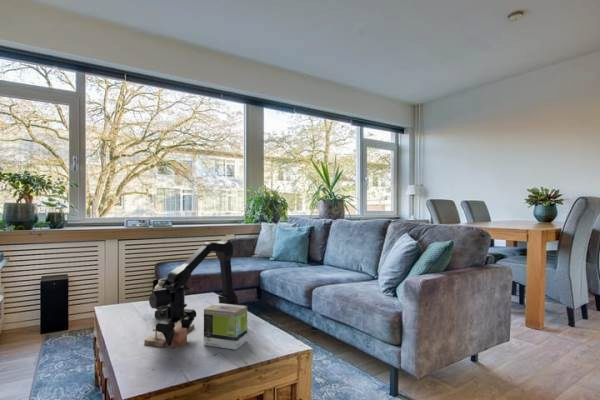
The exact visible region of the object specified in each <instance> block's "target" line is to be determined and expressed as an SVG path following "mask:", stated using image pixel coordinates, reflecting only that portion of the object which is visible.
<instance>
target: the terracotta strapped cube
mask: <svg viewBox="0 0 600 400" xmlns="http://www.w3.org/2000/svg"><path fill="white" fill-rule="evenodd" d="M174 329H175V332H174V336H173V340H172V343H171V346H168V345H167V342H166V346H165V347H171V348H178V349H179V348H181V347H183V346H184V345H186V344H187V343H188V332H187V328H181V327H174ZM152 332H155V334H154V335H155V337H157V333H158V331H156V330H155V326H154V327H152Z"/></svg>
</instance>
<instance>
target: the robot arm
mask: <svg viewBox="0 0 600 400" xmlns="http://www.w3.org/2000/svg"><path fill="white" fill-rule="evenodd" d="M213 252H214V253H215V256H216V257H217V259H218V261H219V267H220V277H221V278H220V279H221V288H222V292H221V294H218V303H223V304H233V305H241V304H240V303H239V299H238V295H237V293H236V292H235V291H234V282H233V273H232V272H233V271H232V258H233V256H234V244H233V243H232V242H231V241H225V240H218V241H217V242H208V241H205V242H203V243H202V245H200V247H198V249H197V250H196V251H195V252H194V253H193V254H192V255H191V256H190V257H189V258H188V259H187V260H186V261H185V262H184V263H182V264H181V265H179V266H177V267H175V268H174V269H173V270H171V271H170V272H168V274H167V277H166V278H167V279H166V281H165V283H164V284H163V286H162V289H158V290H155V289H153V290H151V293H150V294H149V298H148V302H149V306H150V308H151V309H155V308H158V307H162V306H166V305H168V304H169V303H170V305H168V306H167V309H164V310H161V309H159V310H157V309H156V310H155V311H154V318H155V319H156V320H158V321H159V322H157V323H156V324H155V326H154V327H155V330H156V331H158V332H162V333H163V335H164V337H165V339H166V342H167V345H168V346H167V347H169V346H171V343H172V340H173V336H174V332H175V329H174V327H175V323H177V322H180V323H181V325H182V328H187V333H189V332H188V330H189V327H190V325H191V324H193V321H195V318H197V311H196V310H195V309H188V308H186V307H188V306H187V305H188V304H187V303H185V302H186V301H185V291H189V290H190V288H191V287H189V286H188V285H187V283H188V281H189V280H190V279H191V276H192V273H193V272H194V270H195V269H196V268H197V267H198V266H199V265H200V264H201V263H202V262H203V261H204V260H205V259H206V258H207V257H208V256H209V255H210V254H211V253H213ZM171 284H172V285H174V286H170V285H171ZM162 319H165V320H162ZM158 332H157V333H158Z"/></svg>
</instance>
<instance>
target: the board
mask: <svg viewBox="0 0 600 400" xmlns="http://www.w3.org/2000/svg"><path fill="white" fill-rule="evenodd" d="M175 327H181V328H182V325H181V322H180V321H179V322H177V323H175ZM194 329H195V324H194V323H192V324H191V325H190V327H189V330H188V332H187V333H189V332H191V331H192V330H194ZM143 340H144V342H143V343H144V345H145V346H152V347H153V346H154V347H159V348H165V347H167V346H166V339H165V337H164V335H163V333H162V332H157V337H155V334H153V335H151V336H149V337H147V338H145V339H143Z"/></svg>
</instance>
